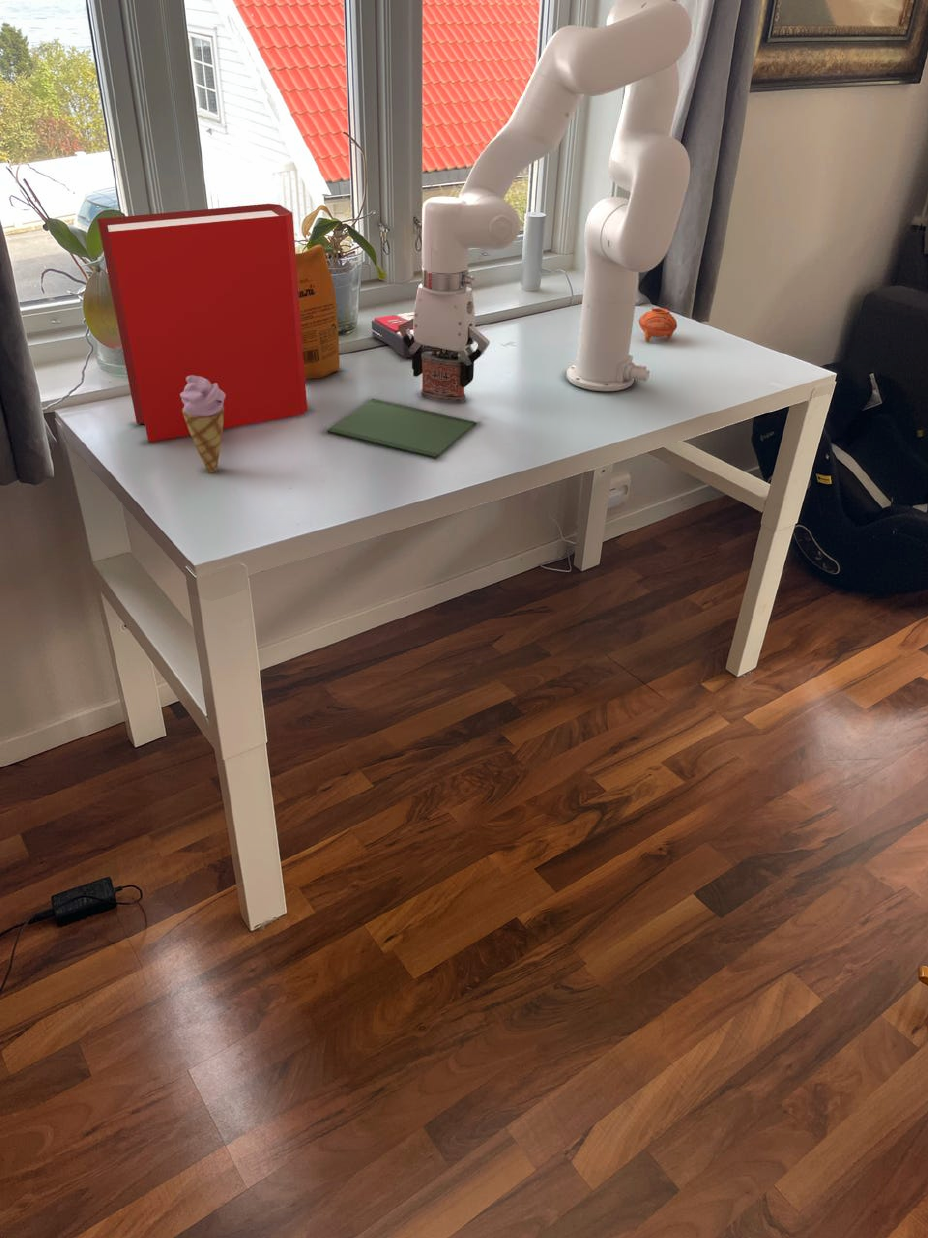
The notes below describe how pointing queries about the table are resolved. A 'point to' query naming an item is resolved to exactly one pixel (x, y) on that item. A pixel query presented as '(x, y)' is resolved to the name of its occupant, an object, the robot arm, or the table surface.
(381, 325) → the card game box
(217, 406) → the ice cream cone
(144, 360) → the book
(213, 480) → the table surface
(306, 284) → the coffee package
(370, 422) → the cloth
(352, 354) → the table surface
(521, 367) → the table surface
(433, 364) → the lighter
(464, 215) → the robot arm
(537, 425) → the table surface
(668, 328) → the pot
